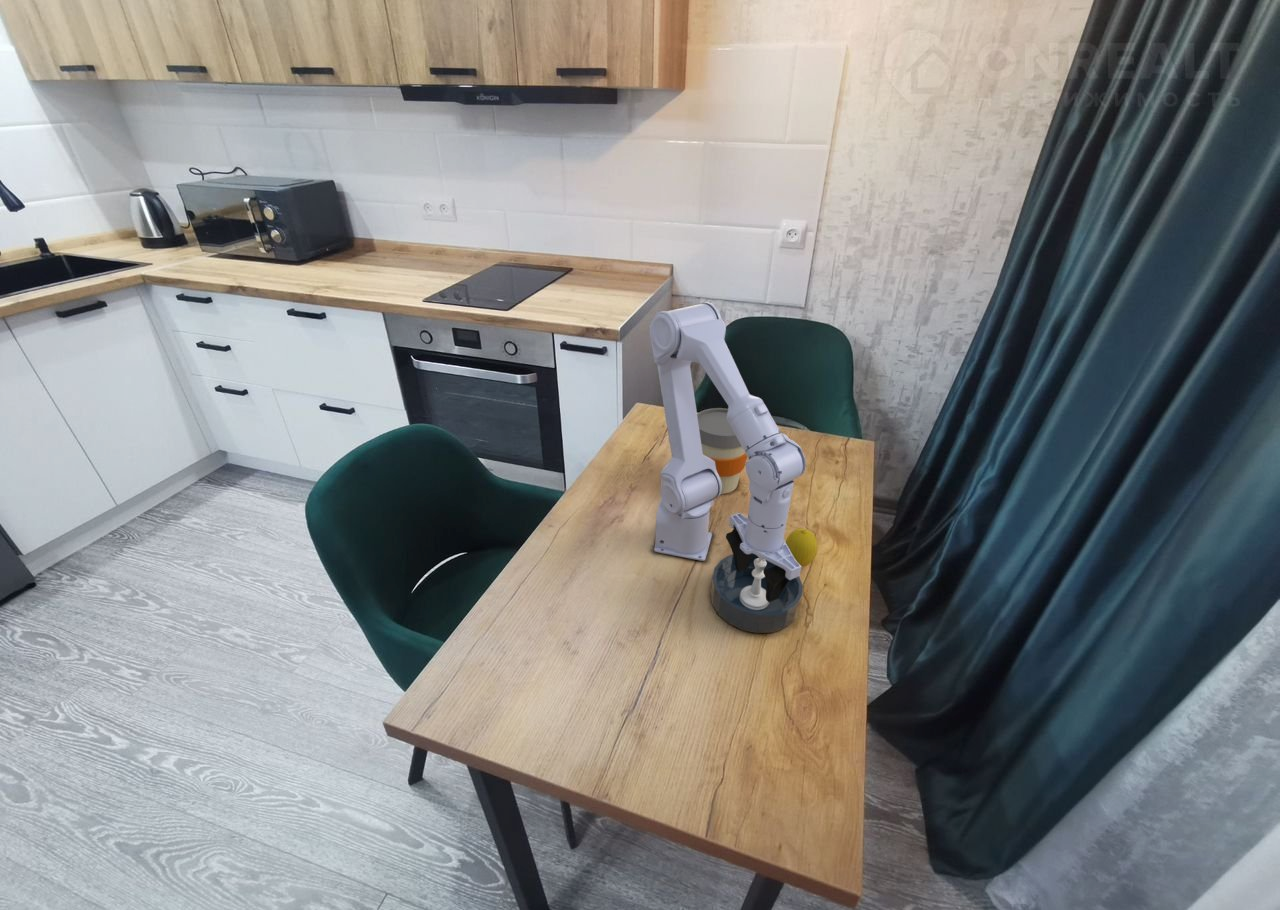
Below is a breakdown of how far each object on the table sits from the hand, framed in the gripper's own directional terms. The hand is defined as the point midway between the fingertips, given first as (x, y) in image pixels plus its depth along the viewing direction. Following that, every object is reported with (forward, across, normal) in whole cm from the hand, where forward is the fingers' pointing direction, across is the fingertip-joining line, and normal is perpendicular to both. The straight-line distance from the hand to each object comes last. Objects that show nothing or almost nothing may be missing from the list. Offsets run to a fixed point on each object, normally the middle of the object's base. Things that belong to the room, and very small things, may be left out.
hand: (756, 583), depth 91 cm
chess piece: (+4, 0, 0) cm, 4 cm away
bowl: (+4, 0, 0) cm, 4 cm away
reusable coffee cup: (+4, -31, +15) cm, 35 cm away
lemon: (+4, -3, +12) cm, 13 cm away
